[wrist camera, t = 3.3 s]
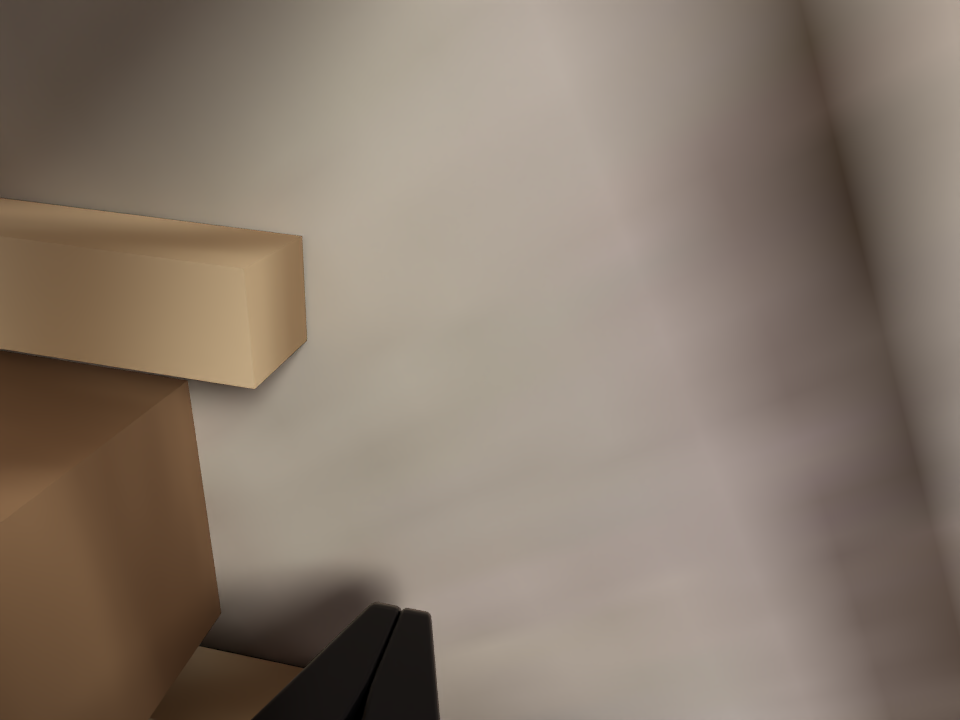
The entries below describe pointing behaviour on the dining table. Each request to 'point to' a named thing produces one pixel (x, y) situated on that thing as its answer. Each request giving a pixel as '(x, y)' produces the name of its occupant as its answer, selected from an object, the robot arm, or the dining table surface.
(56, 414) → the brown cube
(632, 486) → the dining table surface
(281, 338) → the rail slot
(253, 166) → the dining table surface
